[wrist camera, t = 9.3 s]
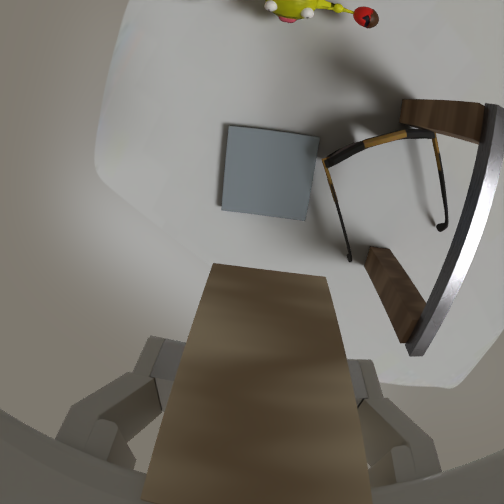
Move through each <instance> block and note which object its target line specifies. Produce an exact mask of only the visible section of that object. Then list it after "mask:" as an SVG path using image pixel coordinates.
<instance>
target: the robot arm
mask: <svg viewBox="0 0 504 504" xmlns="http://www.w3.org/2000/svg"><path fill="white" fill-rule="evenodd" d="M185 345H186V343H185V342H180V341H175V340H170V339H164V338H160V337H156V336H150V337H149V338H148V339H147V342H146V344H145V346H144V348H143V350H142V352H141V355H140V357H139V359H138V361H137V363H136V366H135V368H134V370H133V372H132V373H131V372H127V373H125V374H124V375H122V376H120V377H119V378H117V379H115V380H114V381H112V382H110V383H109V384H108V385H106V386H104V387H102V388H101V389H99V390H97V391H96V392H94V393H92V394H91V395H89V396H87V397H86V398H84V399H82V400H80V401H79V402H77V403H75V404H74V405H72V406H71V408H70V410H69V412H68V414H67V416H66V418H65V420H64V422H63V424H62V426H61V428H60V430H59V432H58V434H57V436H56V438H55V439H53V438H51V437H49V436H47V435H45V434H43V433H41V432H39V431H37V430H36V429H34V428H32V427H30V426H28V425H26V424H25V423H23V422H21V421H19V420H18V419H16V418H14V417H13V416H11V415H10V414H8V413H6V412H5V411H3V410H1V409H0V504H154V503H150V502H147V501H143V500H141V499H140V498H141V494H142V490H143V486H144V483H145V479H146V475H147V474H145V473H142V472H139V471H135V470H133V469H134V466H135V462H136V459H135V457H134V455H133V454H132V452H131V450H130V448H129V447H128V445H127V442H128V441H130V440H131V439H132V438H133V437H134V436H135V435H137V434H138V433H139V432H140V431H141V430H142V429H143V428H145V427H146V426H147V425H148V424H149V423H150V422H152V421H153V420H154V419H155V418H156V417H157V416H158V415H159V414H161V413H162V411H164V412H165V409H166V406H167V402H168V399H169V396H170V393H171V389H172V386H173V383H174V380H175V376H176V373H177V370H178V367H179V364H180V361H181V357H182V354H183V351H184V348H185ZM347 362H348V367H349V371H350V376H351V380H352V385H353V390H354V394H355V399H356V404H357V409H358V414H359V420H360V425H361V430H362V436H363V442H364V448H365V454H366V460H367V463H368V464H369V465H370V466H371V468H370V469H369V470H368V473H369V480H370V487H371V495H372V503H373V504H504V449H502V450H500V451H498V452H496V453H493V454H491V455H489V456H486V457H484V458H481V459H478V460H476V461H473V462H470V463H468V464H465V465H462V466H459V467H456V468H453V469H450V470H447V471H444V472H442V470H441V467H440V463H439V460H438V456H437V452H436V449H435V445H434V442H433V439H432V438H431V437H429V436H428V435H427V434H426V433H425V432H424V431H423V430H422V429H421V428H420V427H419V426H417V425H416V424H415V423H414V422H413V421H412V420H411V419H410V418H409V417H408V416H407V415H406V414H405V413H403V412H402V411H401V410H400V409H399V408H398V407H397V406H396V405H395V404H394V403H393V402H392V401H390V400H389V399H388V398H384V397H383V394H382V390H381V387H380V383H379V380H378V377H377V374H376V370H375V367H374V364H373V362H372V360H360V359H357V360H355V359H347Z"/></svg>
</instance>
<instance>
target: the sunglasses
mask: <svg viewBox="0 0 504 504" xmlns="http://www.w3.org/2000/svg"><path fill="white" fill-rule="evenodd" d="M422 138H427V139H432V142H433V147H434V151H435V156H436V162H437V167H438V173H439V179H440V185H441V192H442V198H443V204H444V210H445V223H441V224H437V226H436V227H437V230H438V231H439V232H441V231H443V230H445V229H446V228H447V227H448V207H447V197H446V189H445V181H444V174H443V168H442V162H441V157H440V152H439V147H438V142H437V137H436V133H435V132H432V131H430V130H428V129H405V130H399V131H395V132H391V133H387V134H383V135H380V136H376V137H372V138H368V139H365V140H363V141H360V142H356V143H352V144H349V145H347V146H345V147H343V148H341V149H339V150H337V151H335V152H333V153H332V154H330V155H328V156H327V157H326V158H323V159H321V160H322V163H323V166H324V169H325V172H326V175H327V178H328V179H327V180H328V183H329V186H330V189H331V193H332V196H333V199H334V202H335V204H336V208H337V211H338V215H339V218H340V222H341V226H342V229H343V233H344V236H345V240H346V244H347V248H348V252H349V254H347V258H348V261H349V262H352V255H351V251H350V246H349V242H348V238H347V234H346V230H345V227H344V223H343V219H342V215H341V212H340V208H339V205H338V200H337V196H336V193H335V189H334V186H333V183H332V180H331V177H330V173H329V170H328V168H329V167H332V166H334V165H336V164H338V163H340V162H341V161H343V160H345V159H347V158H349V157H350V156H352V155H354V154H356V153H358V152H360V151H362V150H365V149H367V148H369V147H373V146H376V145H380V144H383V143H387V142H391V141H395V140H401V139H422Z"/></svg>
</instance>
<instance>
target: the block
mask: <svg viewBox="0 0 504 504" xmlns="http://www.w3.org/2000/svg"><path fill="white" fill-rule="evenodd" d="M140 499H141V500H143V501H147V502H150V503H154V504H373V503H372V495H371V487H370V480H369V473H368V467H367V460H366V454H365V448H364V442H363V436H362V430H361V425H360V420H359V414H358V409H357V404H356V399H355V394H354V390H353V385H352V380H351V376H350V371H349V367H348V362H347V358H346V354H345V349H344V345H343V341H342V337H341V333H340V329H339V325H338V321H337V317H336V313H335V309H334V305H333V302H332V298H331V294H330V291H329V287H328V283H327V280H326V277H322V276H313V275H305V274H296V273H288V272H280V271H272V270H264V269H256V268H248V267H240V266H232V265H224V264H217V263H213V265H212V268H211V271H210V274H209V277H208V279H207V283H206V286H205V288H204V291H203V294H202V297H201V300H200V303H199V306H198V309H197V312H196V315H195V318H194V321H193V324H192V327H191V330H190V333H189V336H188V339H187V342H186V345H185V348H184V351H183V354H182V357H181V361H180V364H179V367H178V370H177V373H176V376H175V380H174V383H173V386H172V389H171V393H170V396H169V399H168V402H167V406H166V409H165V412H164V416H163V419H162V423H161V426H160V429H159V433H158V436H157V440H156V443H155V446H154V450H153V454H152V458H151V461H150V464H149V468H148V472H147V475H146V479H145V483H144V486H143V490H142V494H141V498H140Z"/></svg>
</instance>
